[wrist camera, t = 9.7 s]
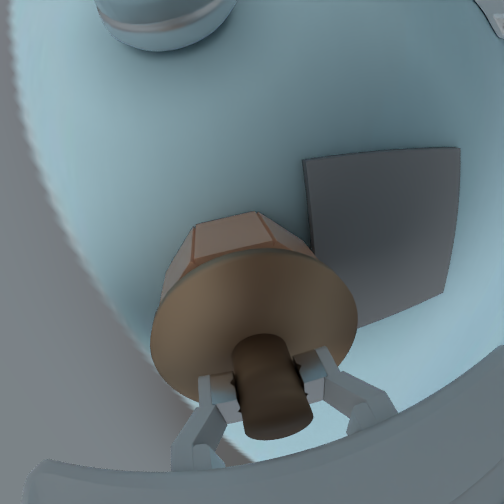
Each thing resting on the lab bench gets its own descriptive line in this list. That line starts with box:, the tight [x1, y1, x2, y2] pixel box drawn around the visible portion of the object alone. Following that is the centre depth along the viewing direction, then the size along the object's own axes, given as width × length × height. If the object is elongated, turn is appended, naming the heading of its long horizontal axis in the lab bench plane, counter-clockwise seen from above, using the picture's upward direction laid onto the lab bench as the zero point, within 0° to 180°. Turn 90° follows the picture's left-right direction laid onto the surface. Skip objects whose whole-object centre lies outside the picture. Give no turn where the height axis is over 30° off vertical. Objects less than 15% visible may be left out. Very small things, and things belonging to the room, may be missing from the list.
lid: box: [150, 248, 358, 440], centre depth 11 cm, size 10×10×5 cm
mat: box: [302, 147, 460, 328], centre depth 18 cm, size 14×14×1 cm
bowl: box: [159, 211, 318, 305], centre depth 16 cm, size 9×9×4 cm
